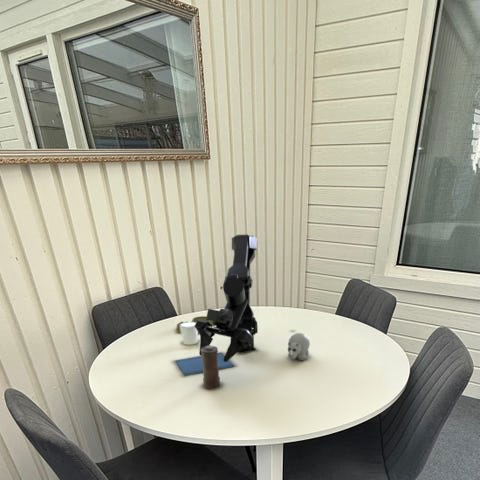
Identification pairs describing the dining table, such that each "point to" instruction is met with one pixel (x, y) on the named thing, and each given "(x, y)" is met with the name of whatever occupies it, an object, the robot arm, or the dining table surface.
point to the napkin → (200, 364)
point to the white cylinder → (189, 333)
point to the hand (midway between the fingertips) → (212, 358)
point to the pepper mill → (210, 367)
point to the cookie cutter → (195, 321)
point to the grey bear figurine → (298, 346)
